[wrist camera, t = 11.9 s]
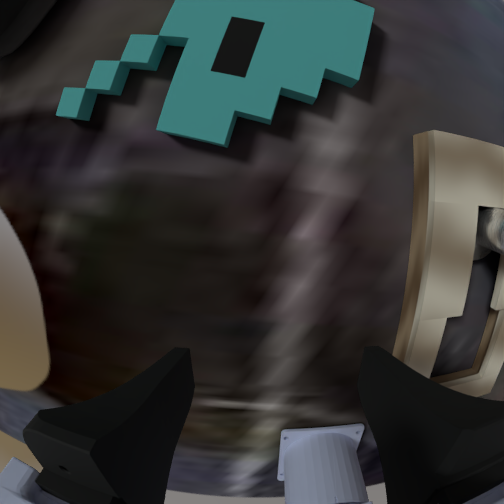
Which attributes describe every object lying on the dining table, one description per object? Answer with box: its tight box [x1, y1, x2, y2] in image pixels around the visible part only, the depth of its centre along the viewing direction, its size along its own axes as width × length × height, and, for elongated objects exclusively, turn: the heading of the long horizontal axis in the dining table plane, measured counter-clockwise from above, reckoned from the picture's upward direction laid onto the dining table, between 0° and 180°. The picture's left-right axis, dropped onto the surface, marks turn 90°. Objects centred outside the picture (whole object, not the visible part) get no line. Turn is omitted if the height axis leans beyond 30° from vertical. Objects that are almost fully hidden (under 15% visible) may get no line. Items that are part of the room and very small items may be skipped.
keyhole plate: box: [392, 130, 504, 397], centre depth 18 cm, size 22×12×3 cm, turn 1°
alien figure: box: [56, 0, 374, 148], centre depth 15 cm, size 20×2×20 cm
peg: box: [473, 206, 504, 260], centre depth 15 cm, size 6×6×8 cm
